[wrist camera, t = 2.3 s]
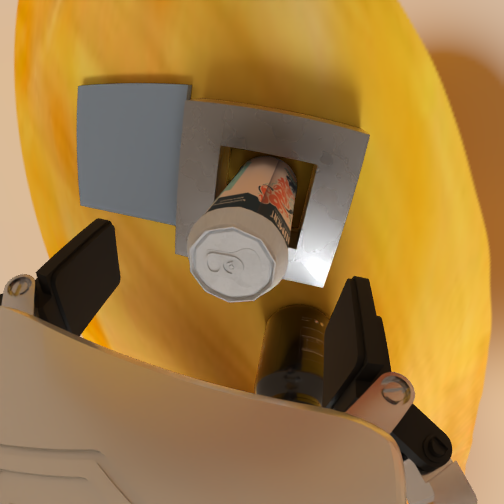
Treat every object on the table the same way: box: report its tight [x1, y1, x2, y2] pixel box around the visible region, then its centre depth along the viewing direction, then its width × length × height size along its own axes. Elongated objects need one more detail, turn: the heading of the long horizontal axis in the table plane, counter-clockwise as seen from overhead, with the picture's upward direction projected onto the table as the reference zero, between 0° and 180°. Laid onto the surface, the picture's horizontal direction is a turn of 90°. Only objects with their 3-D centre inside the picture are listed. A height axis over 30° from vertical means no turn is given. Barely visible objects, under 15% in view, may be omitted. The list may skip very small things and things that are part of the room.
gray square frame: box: [175, 98, 370, 288], centre depth 22 cm, size 12×12×4 cm
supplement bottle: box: [254, 305, 329, 407], centre depth 25 cm, size 7×7×12 cm
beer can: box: [187, 156, 297, 302], centre depth 18 cm, size 5×5×12 cm
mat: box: [77, 83, 192, 226], centre depth 23 cm, size 12×11×1 cm
